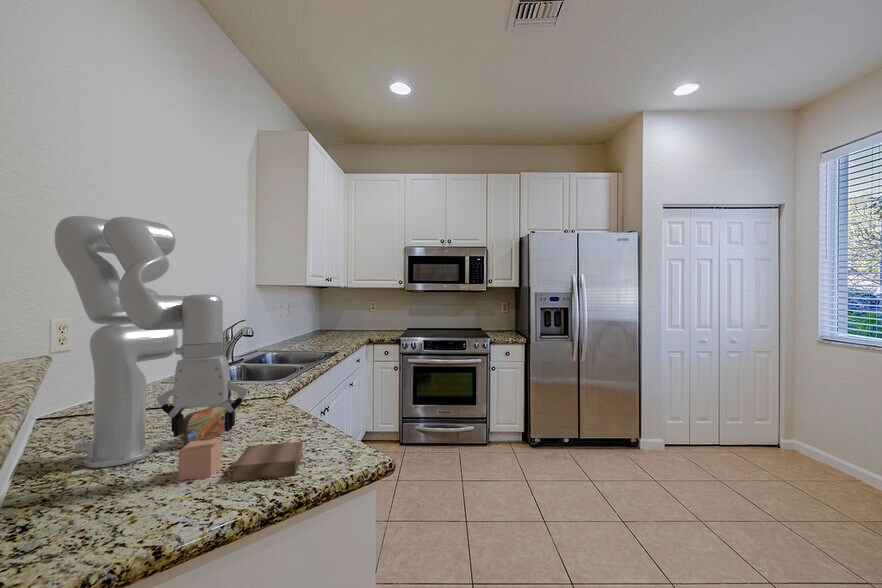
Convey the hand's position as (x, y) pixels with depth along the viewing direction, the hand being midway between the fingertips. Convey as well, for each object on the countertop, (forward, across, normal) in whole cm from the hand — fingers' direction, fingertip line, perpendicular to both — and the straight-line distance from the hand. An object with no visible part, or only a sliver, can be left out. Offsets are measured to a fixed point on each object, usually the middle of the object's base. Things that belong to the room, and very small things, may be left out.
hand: (204, 432), depth 83 cm
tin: (+8, -8, +25) cm, 27 cm away
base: (+9, +13, +1) cm, 16 cm away
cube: (+9, -1, +1) cm, 9 cm away
